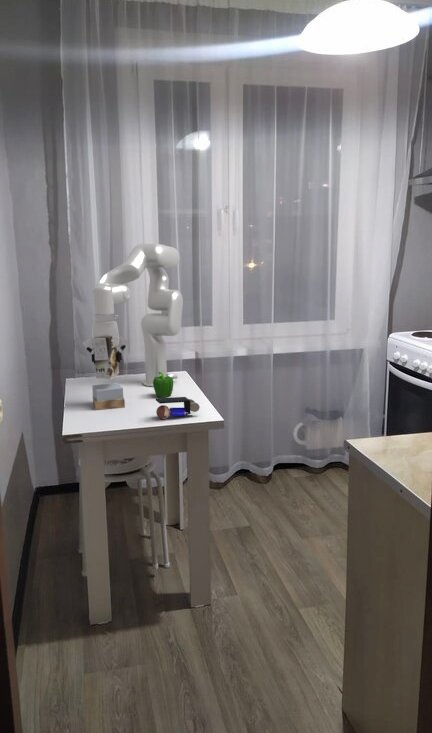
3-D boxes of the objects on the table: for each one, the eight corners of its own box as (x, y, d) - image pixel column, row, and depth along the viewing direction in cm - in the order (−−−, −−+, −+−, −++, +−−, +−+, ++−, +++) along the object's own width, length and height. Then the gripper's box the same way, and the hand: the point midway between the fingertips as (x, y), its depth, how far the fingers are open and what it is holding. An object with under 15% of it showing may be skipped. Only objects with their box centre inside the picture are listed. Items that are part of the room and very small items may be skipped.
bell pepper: (175, 397, 237) (175, 373, 235) (156, 399, 234) (155, 375, 232) (171, 392, 245) (170, 369, 243) (152, 394, 242) (151, 371, 240)
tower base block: (120, 401, 234) (120, 392, 233) (124, 409, 224) (124, 399, 223) (93, 404, 231) (92, 394, 230) (96, 411, 221) (95, 401, 220)
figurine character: (192, 415, 217) (153, 416, 211) (194, 395, 216) (155, 395, 210) (198, 420, 211) (158, 421, 205) (200, 400, 210) (160, 400, 204)
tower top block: (117, 392, 233) (117, 382, 232) (123, 398, 224) (122, 388, 223) (92, 395, 229) (92, 385, 229) (97, 401, 220) (96, 391, 220)
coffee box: (111, 379, 220) (109, 337, 217) (95, 378, 221) (92, 337, 218) (119, 374, 229) (117, 333, 226) (104, 373, 230) (102, 333, 227)
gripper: (126, 316, 226) (128, 359, 230) (80, 318, 222) (83, 362, 225) (128, 318, 219) (130, 363, 223) (81, 320, 215) (84, 366, 218)
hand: (106, 362), depth 224 cm, fingers closed on coffee box, 8 cm apart
